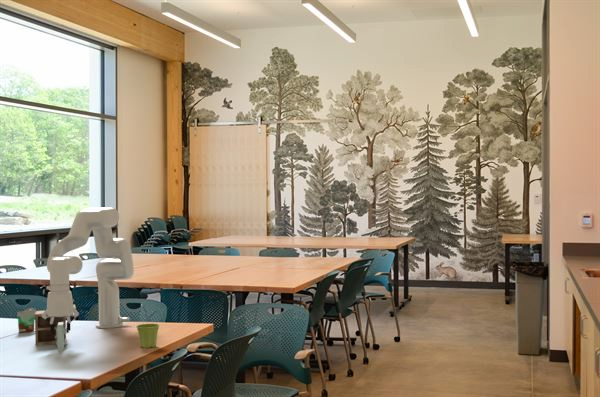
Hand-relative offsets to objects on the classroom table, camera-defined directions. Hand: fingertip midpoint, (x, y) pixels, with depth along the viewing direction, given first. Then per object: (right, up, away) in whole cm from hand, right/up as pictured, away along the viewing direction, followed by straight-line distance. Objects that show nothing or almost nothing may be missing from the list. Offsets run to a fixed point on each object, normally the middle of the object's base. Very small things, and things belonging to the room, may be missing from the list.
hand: (60, 332), depth 316 cm
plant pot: (+36, -6, 0) cm, 36 cm away
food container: (-27, -7, +41) cm, 50 cm away
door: (0, -6, +1) cm, 7 cm away
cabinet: (-8, -6, +11) cm, 15 cm away
